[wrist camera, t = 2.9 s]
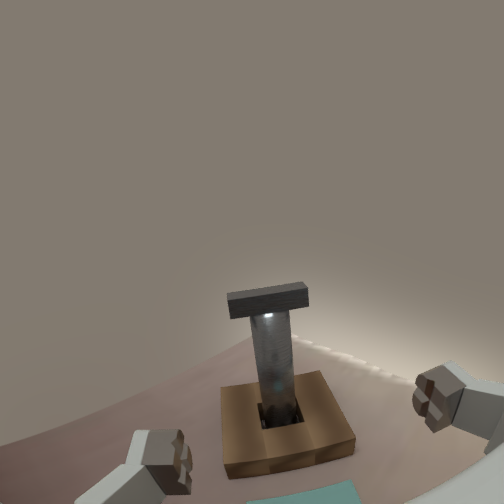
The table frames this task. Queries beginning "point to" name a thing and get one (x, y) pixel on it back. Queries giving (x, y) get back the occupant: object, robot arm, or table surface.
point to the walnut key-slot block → (282, 430)
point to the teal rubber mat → (319, 496)
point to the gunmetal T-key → (272, 344)
